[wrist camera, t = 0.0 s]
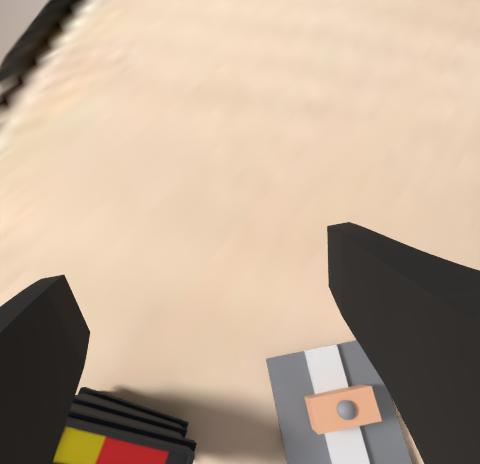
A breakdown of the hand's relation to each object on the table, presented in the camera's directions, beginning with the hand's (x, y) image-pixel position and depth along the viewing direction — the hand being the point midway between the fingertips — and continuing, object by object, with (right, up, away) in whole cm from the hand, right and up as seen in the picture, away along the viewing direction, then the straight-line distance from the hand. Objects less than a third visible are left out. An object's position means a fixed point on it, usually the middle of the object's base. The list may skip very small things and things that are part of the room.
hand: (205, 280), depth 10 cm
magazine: (-9, -19, +28) cm, 35 cm away
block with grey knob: (+11, -16, +26) cm, 33 cm away
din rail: (+12, -21, +26) cm, 35 cm away
